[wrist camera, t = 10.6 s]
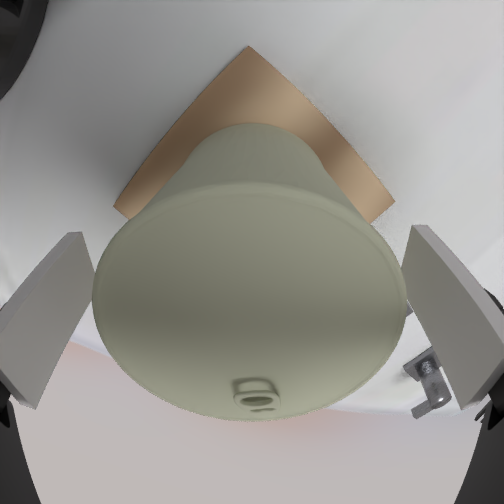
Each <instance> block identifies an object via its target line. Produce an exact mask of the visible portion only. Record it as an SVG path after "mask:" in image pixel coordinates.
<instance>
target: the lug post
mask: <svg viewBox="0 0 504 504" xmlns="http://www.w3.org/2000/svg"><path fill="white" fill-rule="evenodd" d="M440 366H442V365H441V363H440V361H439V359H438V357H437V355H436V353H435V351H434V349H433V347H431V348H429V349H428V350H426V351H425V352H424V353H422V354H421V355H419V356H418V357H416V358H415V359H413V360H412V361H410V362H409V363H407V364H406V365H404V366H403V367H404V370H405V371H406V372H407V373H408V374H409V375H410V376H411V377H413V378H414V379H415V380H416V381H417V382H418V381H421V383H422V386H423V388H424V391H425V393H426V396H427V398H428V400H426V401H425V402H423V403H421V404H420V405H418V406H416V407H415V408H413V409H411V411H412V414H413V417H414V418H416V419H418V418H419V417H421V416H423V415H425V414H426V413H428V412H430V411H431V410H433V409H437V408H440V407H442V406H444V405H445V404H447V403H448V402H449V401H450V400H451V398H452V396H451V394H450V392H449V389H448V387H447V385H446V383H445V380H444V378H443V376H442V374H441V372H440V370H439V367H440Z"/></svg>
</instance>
